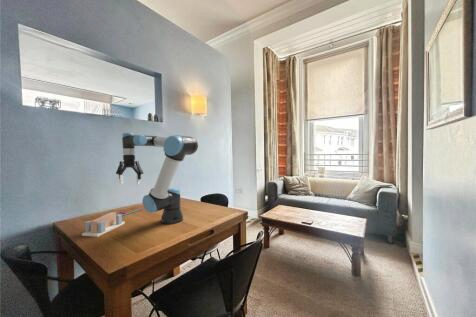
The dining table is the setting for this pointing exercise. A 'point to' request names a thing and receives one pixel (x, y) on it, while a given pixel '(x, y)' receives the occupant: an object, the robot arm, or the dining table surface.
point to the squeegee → (129, 213)
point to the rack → (102, 227)
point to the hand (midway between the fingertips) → (130, 183)
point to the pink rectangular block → (108, 219)
